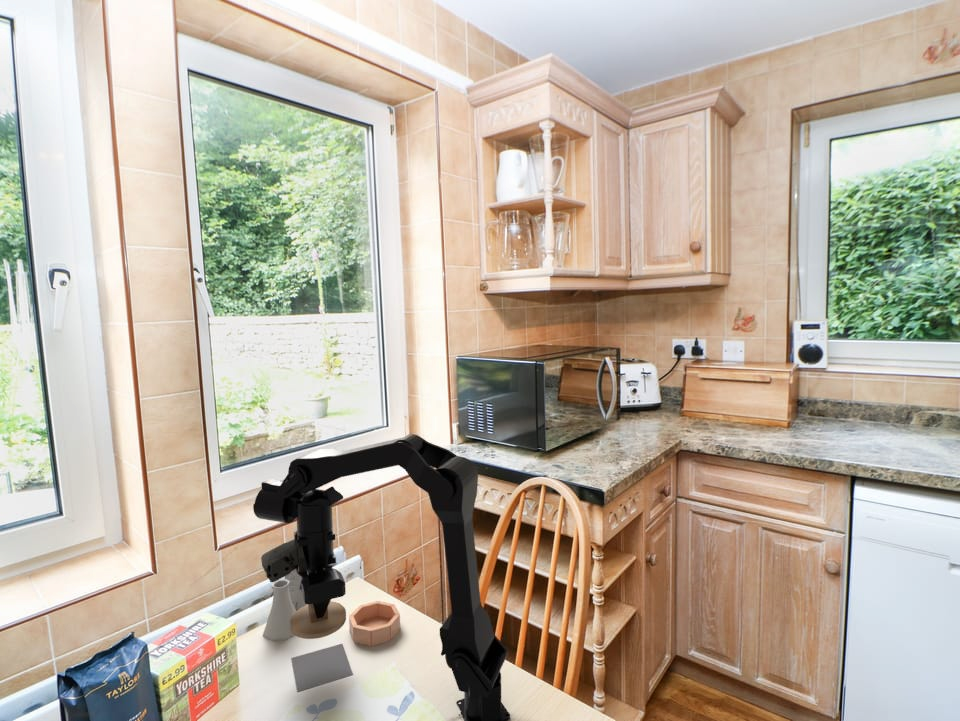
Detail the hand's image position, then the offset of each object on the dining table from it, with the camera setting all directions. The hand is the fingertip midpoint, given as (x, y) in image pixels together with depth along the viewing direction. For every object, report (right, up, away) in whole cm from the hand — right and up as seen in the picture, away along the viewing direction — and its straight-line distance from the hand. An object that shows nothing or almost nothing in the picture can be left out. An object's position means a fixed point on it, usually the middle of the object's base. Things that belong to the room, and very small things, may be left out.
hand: (318, 612), depth 90 cm
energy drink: (-10, -9, +20) cm, 23 cm away
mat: (0, -10, +1) cm, 11 cm away
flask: (-10, -10, +12) cm, 18 cm away
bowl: (+7, -9, +11) cm, 16 cm away
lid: (0, -2, 0) cm, 2 cm away
